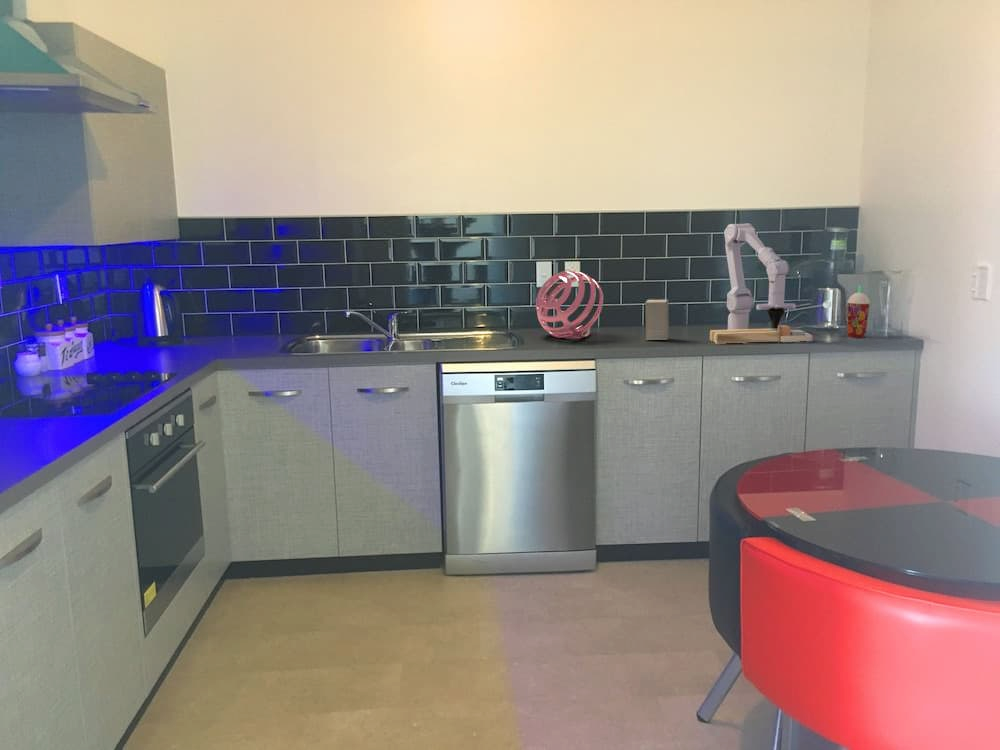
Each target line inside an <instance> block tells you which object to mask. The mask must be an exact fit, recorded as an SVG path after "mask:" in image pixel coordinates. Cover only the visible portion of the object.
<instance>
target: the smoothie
mask: <svg viewBox="0 0 1000 750" xmlns="http://www.w3.org/2000/svg"><path fill="white" fill-rule="evenodd" d="M846 303H847V304H846V311H847V312H846V334H847V335H848V337H849V338H857V339H858V338H859V339H860V338H864V337H865V335H866V333H867V326H868V320H869V312H870V307H871V306H870V304H871V301H870V299H869V297H868V296H867V294H865V293H862V292H861V285H858V291H857V292H855V293H853V294H852V295H851V296H849V298H848V300H847V301H846Z"/></svg>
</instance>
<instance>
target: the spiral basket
mask: <svg viewBox="0 0 1000 750" xmlns="http://www.w3.org/2000/svg"><path fill="white" fill-rule="evenodd" d="M569 276H573V277H570V278H569ZM560 280H561V281H562V282H561V283H560V284H558V285H557V286H556V287H555V288H554V289H553V290H552V291H551V293H550V294H549V296H548V294H547V292H549V290H550V289H551V287H552V286H554V285H555V284H556V283H557V282H558V281H560ZM585 281H588V283H589V285H590V295H589V300H588V302H587V304H586V306H585V307H584V310H583V311H582V313H580V314H579V316H577V318H576V319H574V320H572V321H569V320H568V319H569V317H570V316H571V315H573V314H574V312H575V311H576V310H577V309H578V307H579V306H580V305H581V303H582V301H583V299H584V297H585V290H586V285H585ZM575 282H577V284H578V290H577V294H576V296H575V299H574V301H573V302H572V303H571V305H570V306H569V307H567V309H566V310H562V309H561V305H562V304H564V303H565V302H566V301H567V299H568V297H569V296H570V294H571V291H572V283H575ZM596 287H597V288H596ZM597 289H598V291H599V302H598V305H597V307H596V311H595V313H594V314H593V316H592V317H591V318H590V321H588V322H587V323H586V324H585V325H580V324H581V323H582V322H583V321H584V320H585V319H586V318H587V317H588V315H589V314H590V312H591V311H592V309H593V307H594V305H595V301H596V297H597ZM562 290H563V292H562V293H561V296H560V297H558V298H556V295H558V294H559V292H560V291H562ZM603 304H604V293H603V291H602V288H601V286H600V284H599V283H598V281H596V280H595V279H594V278H592V277H590V276H589V275H588V274H587V273H584V272H581V271H576V270H574V271H573V270H565V271H564V270H563V271H559V272H558V273H555V274H554V275H552V276H550V277H549V278H548V279H546V280H545V282H544V283H543V285H541V287H540V288H539V291H538V292H537V296H536V298H535V310H536V314H537V315H536V316H537V320H538V321H539V323H540V325H541V327H542V328H543V329H544V330H545V331H546V332H547V333H548V334H550V335H551V336H552V337H554V338H557V339H560V338H565V339H564V340H566V339H573V338H577V339H578V338H579V339H585V338H587V337H588V336H589V334H591V333H590V332H591V331H590V330H591V328H592V326H593V325H594V323H595V322H596V321H597V319H599V318H598V317H599V316H600V313H601V312H602V309H603ZM553 309H555V310H556V312H557V314H556V315H548V313H549V312H548V311H549V310H553ZM556 322H557V323H558V322H562V324H563V325H562V326H560V327H550V326H548V323H556ZM577 326H578V327H577ZM585 332H586V333H585ZM584 333H585V334H584ZM584 337H585V338H584Z"/></svg>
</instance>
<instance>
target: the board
mask: <svg viewBox="0 0 1000 750" xmlns="http://www.w3.org/2000/svg"><path fill="white" fill-rule="evenodd" d="M779 333H780V332H778V330H775V329H774V328H748V329H733V330H728V329H709V341H710V340H711V342H712V341H713V342H712V343H714V342H715V343H714V344H716V345H727V344H726V343H743V344H748V343H747V342H768V341H779Z"/></svg>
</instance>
